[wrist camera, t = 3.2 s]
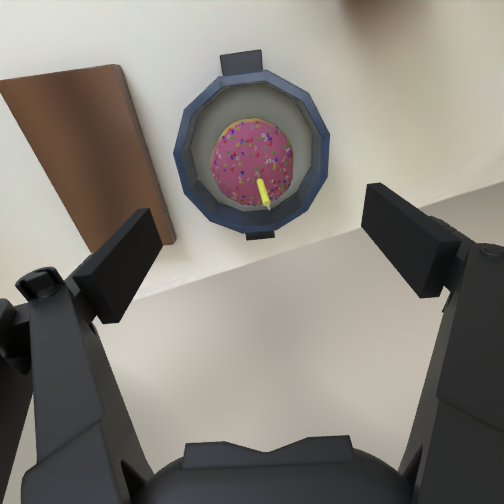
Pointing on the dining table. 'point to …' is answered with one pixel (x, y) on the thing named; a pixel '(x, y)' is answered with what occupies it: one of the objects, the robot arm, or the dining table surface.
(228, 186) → the cupcake
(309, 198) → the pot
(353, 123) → the dining table surface
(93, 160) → the cutting board
